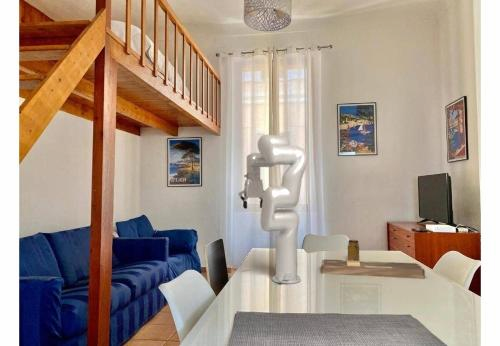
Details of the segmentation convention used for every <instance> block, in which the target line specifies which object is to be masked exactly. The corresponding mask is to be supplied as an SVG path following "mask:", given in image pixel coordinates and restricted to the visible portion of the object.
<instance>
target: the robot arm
mask: <svg viewBox="0 0 500 346" xmlns="http://www.w3.org/2000/svg"><path fill="white" fill-rule="evenodd" d="M257 150H258V151H259V152H252V153H250V154H247V155H246V174H244V177H243V178H246V179H245V181H244V188H243V190H242V191H239V192H238V196H239V198H240V199H241V201H242V206H243V208H244V209H248V201H247V200H248V199H250V198H251V199H252V198H259V200H260V201H259V208H260V209H261V212H260V227H261V230H263V231H265V232H279V233H278V235H277V236H276V239H275V274H274V275H272V281H273V282H275V283H278V284H288V285H289V284H290V285H291V284H297V283H300V282H301V281H302V280H301V279H302V278H301V277H300V276H299V275H298V232H299V226H300V225H299V224H300V215H299V213H298V212H297V211H296V210H294V209H292V208H295V207H296V206H297V205H298V204H299V202H300V201H299V200H300V195H301V187H302V180H303V176H304V173H305V171H306V169H307V165H308V156H307V151H306V150H305V149H304V148H303V147H300V146H297V145H290V141H289V139H288V138H287V137H285V136H283V135H277V134H263V135H261V136H260V138H259V139H258V141H257ZM277 165H279V166H287V165H288V168H286V170H285V171H284V173H283V175H282V178H281V184H280V185H278V186H277V185H273V186H269V187H267V188H266V189H265V190H264V184H263V179H261V168H272V167H274V166H277Z"/></svg>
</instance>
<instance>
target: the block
mask: <svg viewBox="0 0 500 346" xmlns="http://www.w3.org/2000/svg"><path fill="white" fill-rule="evenodd" d="M346 261H347V266H360V262H361V261H360V260H359V261H348V260H346Z"/></svg>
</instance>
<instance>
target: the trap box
mask: <svg viewBox="0 0 500 346" xmlns="http://www.w3.org/2000/svg"><path fill="white" fill-rule="evenodd" d="M347 261H348V260H343V259H322V260H321V274H325V275H326V274H327V275H346V276H347V275H348V276H363V275H368V277H382V276H384V277H385V278H405V279H406V278H407V279H424V280H425V279H426V278H425V277H426V272H425V271H426V270H425V269H424V268H423V266H421V265H420V264H419V263H416V262H398V261H397V262H395V261H394V262H393V261H373V260H372V261H371V260H370V261H368V260H363V261H359V262H360V266H347Z"/></svg>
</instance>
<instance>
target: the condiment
mask: <svg viewBox="0 0 500 346" xmlns="http://www.w3.org/2000/svg"><path fill="white" fill-rule="evenodd" d="M347 242H348V245H347V261H359V262H360V245H359V240H357V239H349V240H348V241H347Z"/></svg>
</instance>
